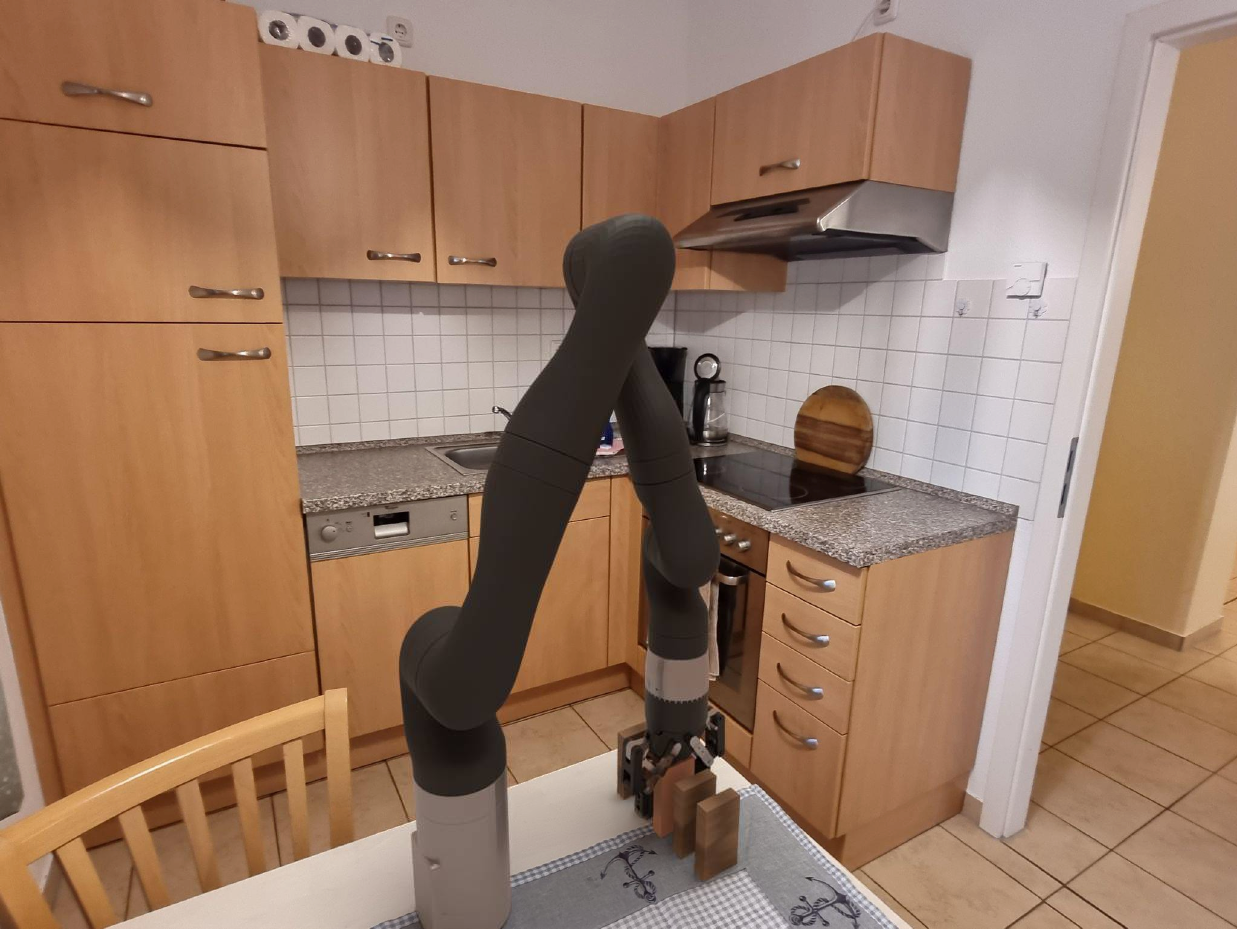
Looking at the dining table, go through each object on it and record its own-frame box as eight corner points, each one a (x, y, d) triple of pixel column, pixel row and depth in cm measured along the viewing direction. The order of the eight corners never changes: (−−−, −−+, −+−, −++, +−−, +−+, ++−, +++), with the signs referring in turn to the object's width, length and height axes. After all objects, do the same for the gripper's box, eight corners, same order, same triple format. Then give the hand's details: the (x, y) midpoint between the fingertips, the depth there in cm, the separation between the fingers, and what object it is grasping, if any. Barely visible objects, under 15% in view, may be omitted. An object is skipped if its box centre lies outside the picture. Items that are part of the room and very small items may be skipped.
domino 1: (623, 799, 90) (624, 738, 88) (617, 792, 91) (617, 732, 89) (654, 786, 93) (655, 725, 91) (647, 779, 94) (648, 720, 92)
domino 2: (660, 837, 84) (662, 771, 82) (652, 829, 85) (654, 764, 83) (692, 821, 86) (694, 757, 84) (684, 813, 88) (686, 750, 86)
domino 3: (681, 859, 80) (683, 791, 78) (672, 850, 82) (674, 783, 80) (713, 841, 83) (716, 775, 81) (705, 833, 84) (707, 768, 82)
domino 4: (703, 882, 77) (706, 812, 75) (694, 872, 78) (696, 803, 76) (736, 863, 80) (740, 795, 78) (727, 854, 81) (730, 787, 79)
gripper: (646, 715, 74) (644, 844, 78) (743, 678, 82) (737, 797, 86) (608, 684, 81) (608, 806, 84) (702, 653, 88) (698, 765, 92)
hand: (673, 801), depth 85 cm, fingers open, 8 cm apart
